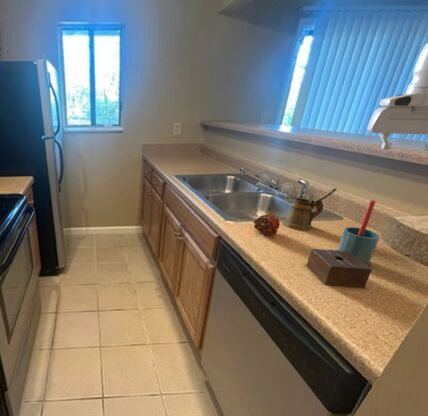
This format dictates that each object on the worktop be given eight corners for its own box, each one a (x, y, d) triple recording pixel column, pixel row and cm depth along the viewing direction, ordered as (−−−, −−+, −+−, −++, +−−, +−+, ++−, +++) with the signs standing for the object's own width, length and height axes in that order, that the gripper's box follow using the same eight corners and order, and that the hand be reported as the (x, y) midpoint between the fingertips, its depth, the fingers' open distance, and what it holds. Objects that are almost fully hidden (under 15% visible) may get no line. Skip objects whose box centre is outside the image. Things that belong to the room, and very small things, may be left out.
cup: (362, 256, 92) (372, 229, 88) (373, 269, 85) (384, 240, 81) (332, 251, 95) (341, 225, 91) (340, 263, 88) (349, 235, 84)
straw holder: (341, 267, 86) (347, 250, 83) (364, 287, 76) (372, 269, 74) (306, 265, 87) (311, 248, 85) (324, 284, 78) (331, 266, 76)
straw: (353, 257, 90) (374, 200, 83) (355, 259, 89) (376, 201, 82) (349, 257, 90) (369, 199, 83) (350, 258, 89) (371, 201, 82)
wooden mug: (322, 235, 106) (336, 191, 100) (282, 225, 115) (292, 184, 108) (324, 228, 112) (338, 186, 106) (286, 219, 121) (296, 180, 114)
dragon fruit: (262, 242, 104) (260, 234, 115) (286, 233, 100) (282, 226, 111) (251, 223, 105) (250, 216, 115) (274, 213, 101) (271, 207, 111)
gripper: (471, 99, 74) (448, 150, 79) (373, 100, 82) (358, 146, 87) (489, 98, 69) (464, 153, 74) (383, 99, 77) (366, 149, 82)
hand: (406, 149), depth 81 cm, fingers open, 8 cm apart
